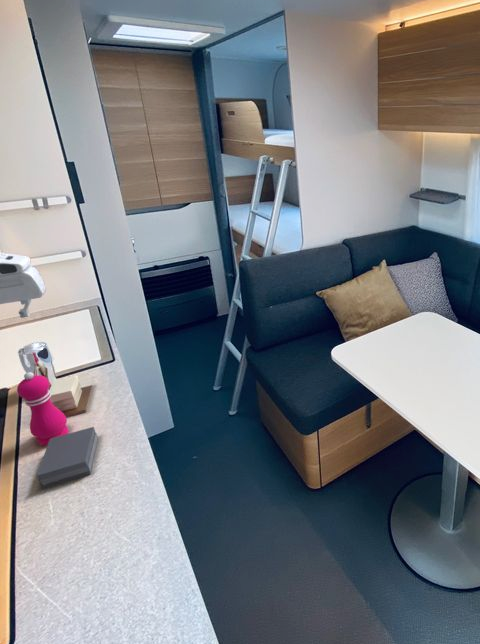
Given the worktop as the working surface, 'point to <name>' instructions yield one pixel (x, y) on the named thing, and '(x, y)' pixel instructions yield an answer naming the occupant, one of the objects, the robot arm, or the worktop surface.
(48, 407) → the pepper mill
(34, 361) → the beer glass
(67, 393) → the ivory book
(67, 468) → the grey pile
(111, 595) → the worktop surface
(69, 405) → the ivory pile
